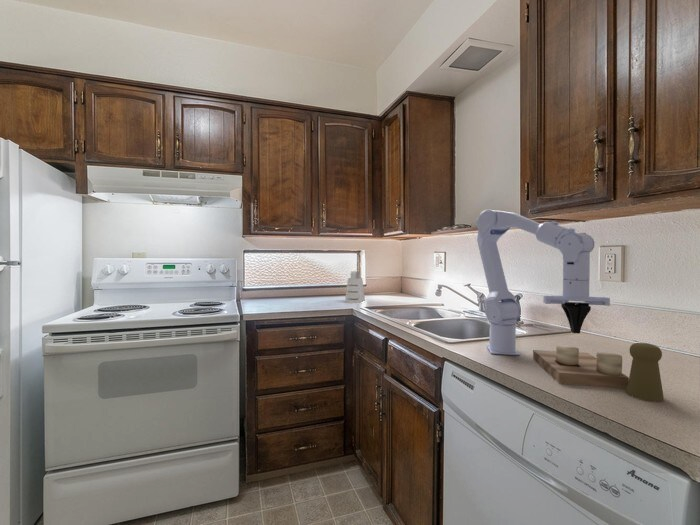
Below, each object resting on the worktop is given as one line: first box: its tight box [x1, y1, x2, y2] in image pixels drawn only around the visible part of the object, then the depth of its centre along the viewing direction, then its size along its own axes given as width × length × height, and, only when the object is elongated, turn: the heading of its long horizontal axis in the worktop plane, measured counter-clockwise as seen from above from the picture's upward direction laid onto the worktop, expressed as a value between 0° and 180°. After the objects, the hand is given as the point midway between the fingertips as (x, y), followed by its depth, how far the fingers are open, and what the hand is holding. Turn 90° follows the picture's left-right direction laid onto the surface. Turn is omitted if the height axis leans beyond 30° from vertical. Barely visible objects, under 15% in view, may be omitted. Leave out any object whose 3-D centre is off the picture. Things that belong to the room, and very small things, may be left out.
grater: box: [344, 270, 366, 304], centre depth 223 cm, size 10×10×20 cm
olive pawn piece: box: [626, 342, 665, 403], centre depth 73 cm, size 6×6×11 cm
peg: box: [555, 344, 580, 367], centre depth 87 cm, size 5×5×6 cm
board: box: [532, 349, 629, 389], centre depth 88 cm, size 20×14×6 cm
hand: (575, 332), depth 89 cm, fingers closed
